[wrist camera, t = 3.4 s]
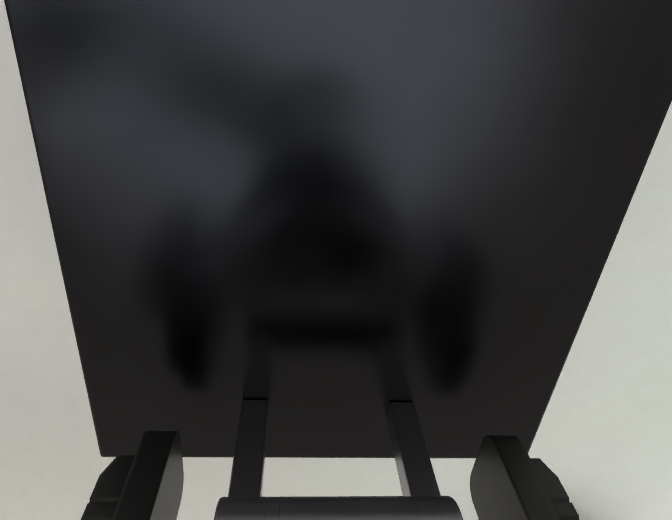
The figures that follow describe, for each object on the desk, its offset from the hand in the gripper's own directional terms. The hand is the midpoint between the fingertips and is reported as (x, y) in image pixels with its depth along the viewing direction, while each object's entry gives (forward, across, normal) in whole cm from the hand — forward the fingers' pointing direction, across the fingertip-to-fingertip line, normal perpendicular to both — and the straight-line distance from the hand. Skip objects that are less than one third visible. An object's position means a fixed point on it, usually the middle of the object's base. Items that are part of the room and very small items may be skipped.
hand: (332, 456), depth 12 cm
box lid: (+2, 0, -4) cm, 5 cm away
